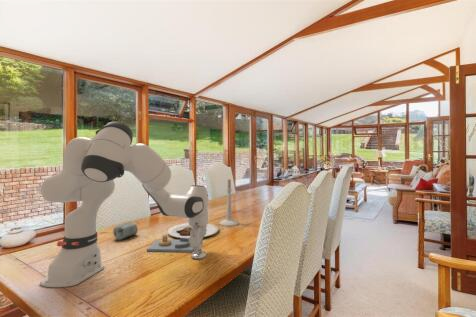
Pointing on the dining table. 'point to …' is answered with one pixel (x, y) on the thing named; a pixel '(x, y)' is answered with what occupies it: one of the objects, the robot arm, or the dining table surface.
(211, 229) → the plated food
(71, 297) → the dining table surface
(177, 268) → the dining table surface
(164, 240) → the carrier
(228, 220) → the grey rod on disc
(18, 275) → the dining table surface
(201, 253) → the silver rounded piece
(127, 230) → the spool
